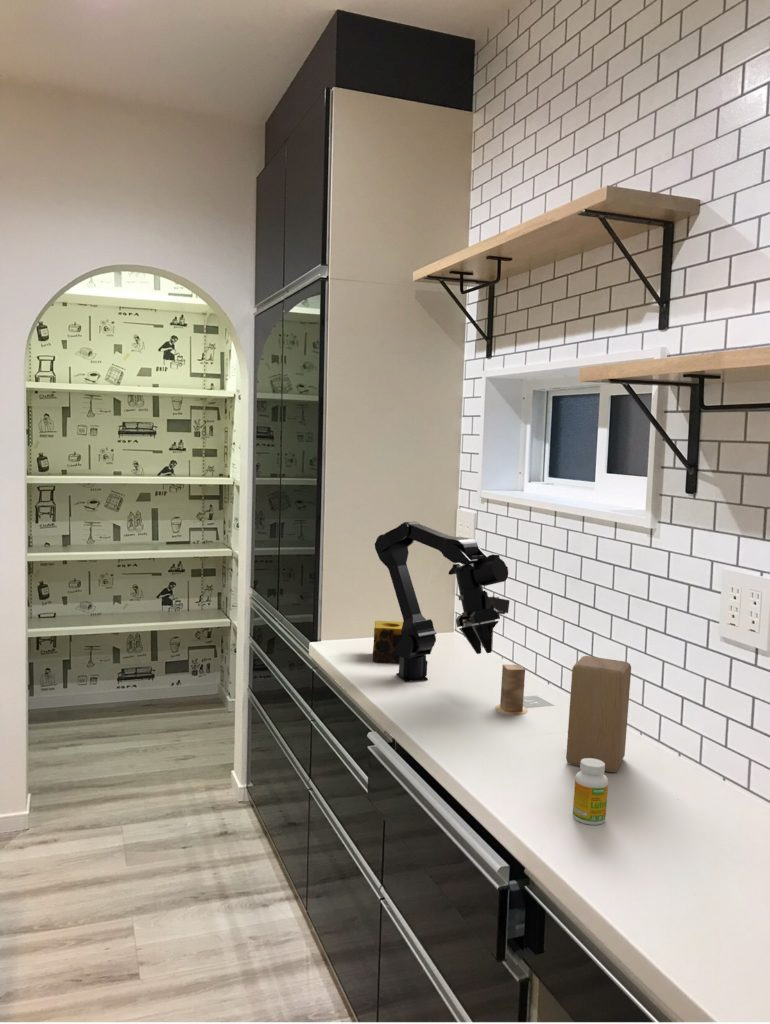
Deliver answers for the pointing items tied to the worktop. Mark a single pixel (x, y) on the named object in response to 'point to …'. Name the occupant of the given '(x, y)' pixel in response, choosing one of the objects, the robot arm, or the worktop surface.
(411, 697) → the worktop surface
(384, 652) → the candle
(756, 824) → the worktop surface
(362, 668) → the worktop surface
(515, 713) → the cork coaster
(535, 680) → the worktop surface
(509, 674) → the walnut block
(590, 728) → the block
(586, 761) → the supplement bottle
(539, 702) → the tile
